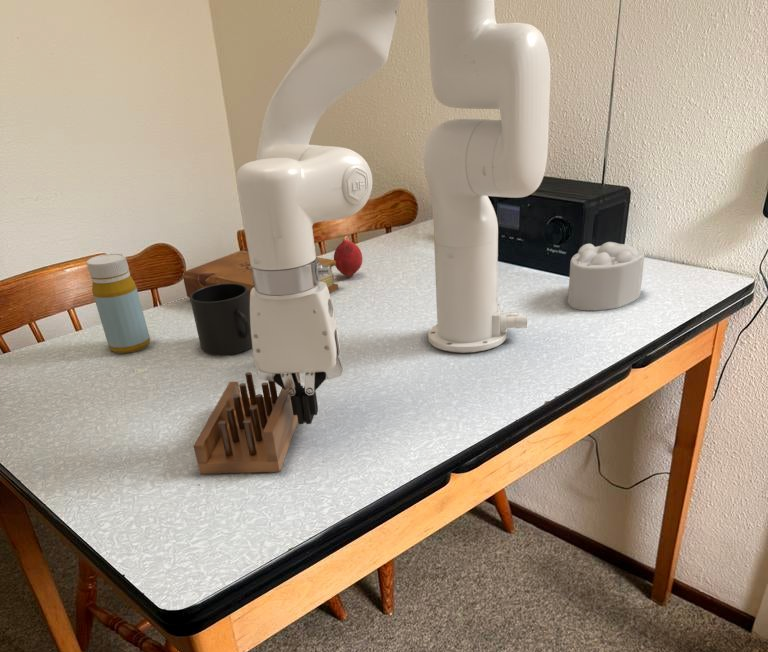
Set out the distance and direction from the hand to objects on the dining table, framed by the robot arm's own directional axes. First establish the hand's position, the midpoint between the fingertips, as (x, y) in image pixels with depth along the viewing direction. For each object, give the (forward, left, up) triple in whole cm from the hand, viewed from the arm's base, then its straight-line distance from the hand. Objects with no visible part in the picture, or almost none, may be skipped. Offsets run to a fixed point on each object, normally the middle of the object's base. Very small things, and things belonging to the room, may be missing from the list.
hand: (306, 419), depth 97 cm
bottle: (+38, -33, -3) cm, 50 cm away
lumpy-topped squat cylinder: (-43, -47, -3) cm, 64 cm away
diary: (+20, -57, -3) cm, 61 cm away
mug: (+19, -31, -3) cm, 37 cm away
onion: (+4, -66, -3) cm, 66 cm away
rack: (+7, 0, -2) cm, 8 cm away
